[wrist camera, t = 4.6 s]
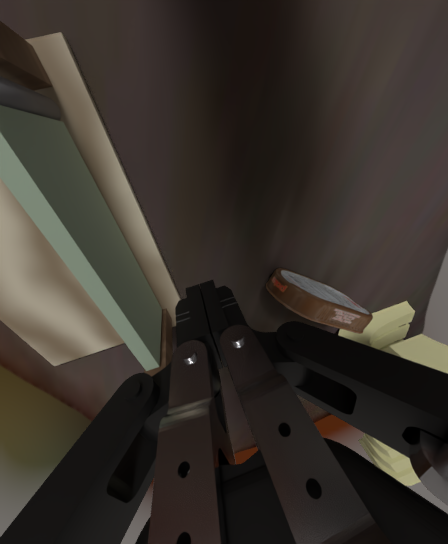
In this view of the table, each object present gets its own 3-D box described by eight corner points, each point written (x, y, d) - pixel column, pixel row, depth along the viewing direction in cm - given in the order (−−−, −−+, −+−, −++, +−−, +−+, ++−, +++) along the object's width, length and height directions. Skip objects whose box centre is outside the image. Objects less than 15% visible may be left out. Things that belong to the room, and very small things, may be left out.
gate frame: (66, 38, 14) (-127, -174, 5) (189, 317, 28) (198, 395, 19) (-234, 101, 12) (-1304, -27, 3) (57, 360, 27) (1, 466, 18)
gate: (51, 92, 14) (-66, 36, 7) (163, 308, 25) (161, 369, 18) (27, 98, 14) (-115, 46, 7) (150, 312, 25) (143, 376, 18)
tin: (255, 276, 28) (285, 319, 21) (267, 256, 26) (303, 295, 19) (329, 301, 34) (372, 342, 27) (342, 286, 33) (390, 324, 25)
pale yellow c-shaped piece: (331, 294, 33) (467, 415, 18) (419, 263, 34) (616, 352, 19) (324, 389, 49) (393, 493, 34) (384, 365, 50) (476, 457, 35)
